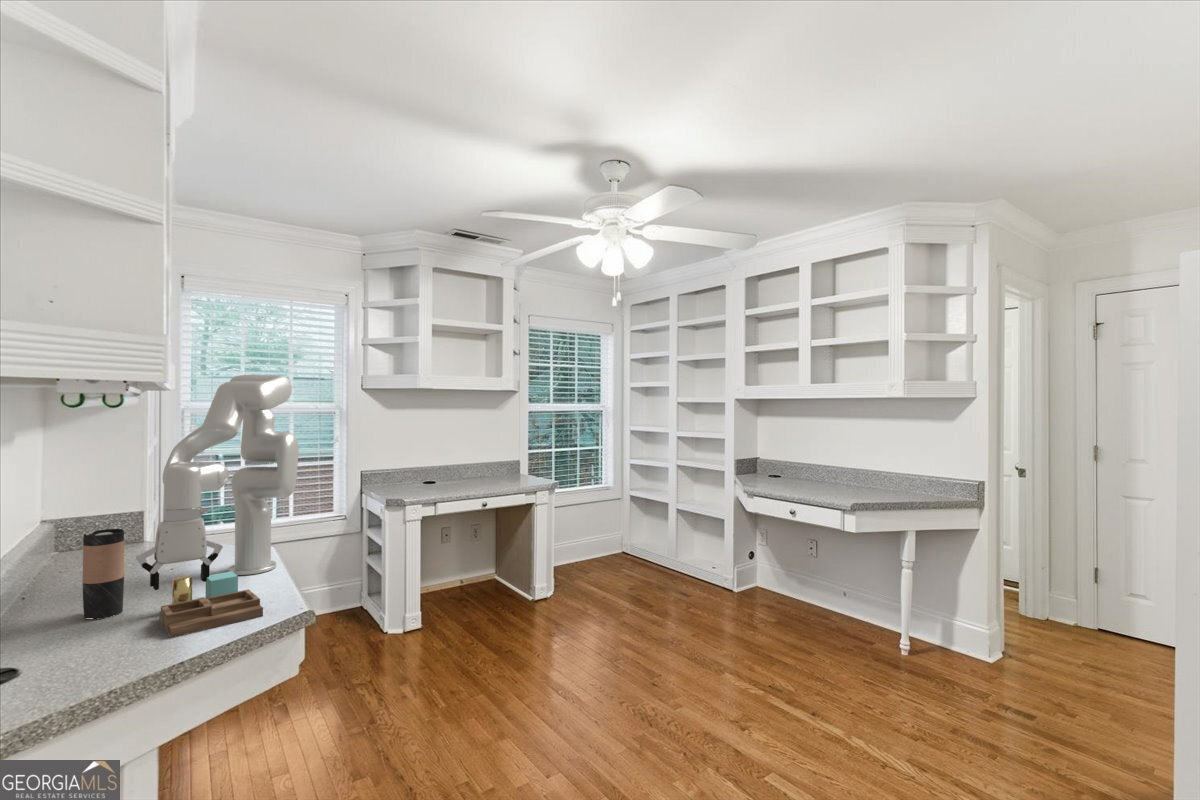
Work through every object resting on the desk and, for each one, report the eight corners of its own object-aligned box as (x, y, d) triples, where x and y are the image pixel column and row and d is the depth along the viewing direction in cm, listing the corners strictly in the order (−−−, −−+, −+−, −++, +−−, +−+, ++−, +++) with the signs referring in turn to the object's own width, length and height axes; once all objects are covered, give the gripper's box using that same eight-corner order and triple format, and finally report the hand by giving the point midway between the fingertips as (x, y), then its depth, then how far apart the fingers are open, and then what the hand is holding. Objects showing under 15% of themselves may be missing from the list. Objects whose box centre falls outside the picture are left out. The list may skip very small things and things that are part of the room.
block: (205, 598, 149) (205, 575, 149) (232, 593, 154) (232, 571, 154) (210, 604, 145) (210, 581, 145) (237, 598, 149) (238, 575, 150)
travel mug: (125, 614, 138) (125, 532, 138) (83, 623, 133) (83, 537, 133) (122, 606, 143) (122, 527, 143) (81, 614, 138) (82, 532, 138)
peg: (170, 610, 141) (170, 577, 141) (190, 606, 144) (190, 574, 144) (173, 614, 138) (173, 581, 138) (193, 610, 141) (193, 578, 141)
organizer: (158, 619, 135) (158, 602, 135) (245, 600, 148) (246, 585, 148) (169, 638, 124) (169, 619, 124) (262, 615, 137) (263, 599, 137)
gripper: (219, 509, 150) (217, 575, 149) (135, 517, 137) (133, 589, 137) (226, 512, 144) (225, 580, 144) (139, 521, 132) (137, 595, 131)
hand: (180, 584), depth 140 cm, fingers open, 9 cm apart
